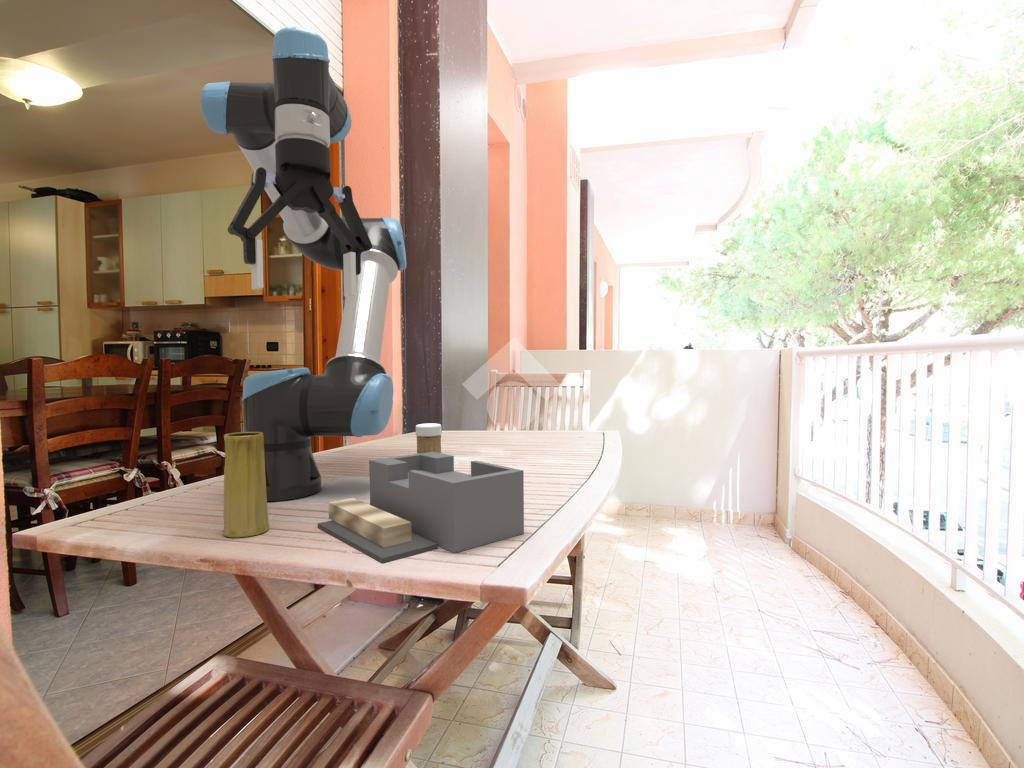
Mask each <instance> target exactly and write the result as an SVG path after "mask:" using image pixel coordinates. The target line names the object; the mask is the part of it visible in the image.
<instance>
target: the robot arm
mask: <svg viewBox="0 0 1024 768" xmlns="http://www.w3.org/2000/svg"><path fill="white" fill-rule="evenodd" d="M272 41H273V43H272V45H273V46H272V55H271V61H272V72H273V82H244V81H243V82H242V81H241V82H240V81H239V82H238V81H237V82H236V81H234V82H233V81H231V80H228V81H221V82H209V83H206V84H205V85H203V87H202V88H201V92H200V96H199V105H200V110H201V111H200V112H201V113H202V118H203V120H204V121H205V122H204V123H205V124H206V126H207V127H208V129H210V131H212V132H214V133H215V134H218V135H225V136H228V135H231V136H232V137H233V139H234V141H235V142H236V144H237V146H238V147H239V148H240V151H241V153H242V154H243V156H244V157H245V159H246V160H247V162H248V164H249V165H250V167H251V170H252V171H253V172H252V173H251V182H250V187H249V190H248V191H247V193H246V195H245V196H244V198H243V200H242V201H241V204H240V205H239V207H238V209H237V211H236V213H235V214H234V216H233V218H232V220H231V222H230V224H229V226H228V228H227V232H228V233H229V234H230V235H232V236H236V237H238V238H240V240H241V242H242V250H243V251H242V252H243V262H244V264H245V265H250V267H251V268H250V272H251V274H250V275H251V290H254V291H256V290H257V291H259V290H261V289H264V286H265V285H264V256H263V254H264V253H263V252H264V251H263V250H264V249H263V239H257V238H256V237H258V235H259V234H260V233H261V232H262V231H263V230H264V229H265V228H266V227H267V226H268V225H269V224H270V223H271V222H272V221H273V220H274V219H275V218H276V217H277V216H278V215H279V216H280V217H281V219H282V220H283V223H282V228H283V232H284V234H285V235H286V237H287V239H288V240H289V241H290V243H291V245H293V247H294V248H295V249H297V251H298V252H300V253H301V254H302V255H303V256H305V257H306V258H308V260H310V261H312V262H313V263H315V264H316V265H319V266H321V267H324V268H326V269H330V270H334V271H343V297H345V299H344V306H343V311H342V317H341V323H340V328H339V335H338V340H337V346H336V353H335V356H334V357H331V358H330V359H329V360H328V361H327V362H326V364H325V366H324V367H325V368H324V373H323V374H311V370H310V369H309V367H295V368H294V367H293V368H287V369H277V370H270V371H264V372H258V373H252V374H249V375H248V376H246V377H245V378H244V380H243V382H242V397H241V402H242V420H243V421H242V422H243V426H242V427H243V432H262V433H263V435H264V458H265V477H266V494H267V502H275V501H276V502H278V501H286V500H287V501H288V500H293V499H298V498H304V497H308V496H311V495H314V494H317V493H318V492H320V491H321V490H322V489H323V487H322V486H323V484H322V476H321V473H320V470H319V468H318V465H317V462H316V460H315V459H316V458H315V457H314V453H313V452H312V437H313V438H314V437H316V438H317V437H355V438H361V437H364V436H376V435H380V434H381V433H382V432H383V431H384V430H385V429H386V428H387V426H388V425H389V421H390V417H391V415H392V409H393V403H394V401H393V398H394V383H393V379H392V378H391V376H390V375H389V374H387V371H386V368H385V367H384V366H383V365H382V364H381V363H380V362H381V357H382V356H381V354H382V346H383V339H384V330H385V322H386V315H387V305H388V298H389V291H390V290H389V288H390V284H392V283H393V282H394V281H395V280H396V278H397V277H398V272H399V271H400V272H401V271H402V270H406V269H407V265H408V264H407V252H406V247H405V246H406V245H405V240H404V239H405V238H404V233H403V228H402V225H401V222H400V221H399V220H398V219H396V218H393V217H391V218H390V217H383V216H381V217H360V214H359V212H358V210H357V207H356V205H355V202H354V199H353V192H352V191H353V190H352V188H351V186H350V185H345V186H343V187H337V186H333V184H332V182H331V169H332V168H331V167H332V166H331V163H332V162H331V150H330V149H329V148H330V146H331V144H335V143H339V142H341V141H343V140H344V139H345V138H347V136H348V135H349V133H350V131H351V128H352V122H353V121H352V120H353V119H352V115H351V113H350V108H349V107H348V104H347V101H346V99H344V97H343V96H342V94H340V91H339V90H338V89H337V86H336V84H335V81H334V79H333V77H332V76H331V73H330V70H329V67H330V66H329V64H330V62H331V61H330V59H329V58H330V57H329V50H328V49H329V48H328V45H327V42H326V41H325V39H324V38H323V37H322V35H319V34H318V33H317V32H314V31H313V30H311V29H308V28H304V27H299V26H295V27H294V26H287V27H284V28H281V29H279V30H278V31H276V33H274V37H273V40H272ZM263 191H265V192H266V194H267V196H268V198H269V199H270V201H271V203H272V204H271V205H270V206H269V207H268V208H267V209H266V210H264V211H263V213H262V214H261V215H260V216H259V217H258V218H257V219H256V220H255V221H253V223H252V224H251V225H250V226H249V227H248V228H247V227H245V225H246V223H247V221H248V219H249V217H250V216H251V213H252V212H253V210H254V208H255V207H256V205H257V202H258V201H259V199H260V197H261V195H262V194H263ZM332 197H334V200H335V202H336V203H338V206H339V209H340V211H341V213H342V215H343V217H340V215H339V214H338V213H337V210H336V207H335V206H334V204H333V203H332V201H331V200H330V199H331V198H332Z"/></svg>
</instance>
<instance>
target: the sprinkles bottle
mask: <svg viewBox="0 0 1024 768" xmlns="http://www.w3.org/2000/svg"><path fill="white" fill-rule="evenodd" d="M442 428H443V427H442V424H441V423H434V422H433V423H432V422H431V423H427V422H426V423H420V424H416V425H415V436H416V454H420V453H427V452H438V453H442V435H443V429H442ZM442 454H443V453H442Z"/></svg>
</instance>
